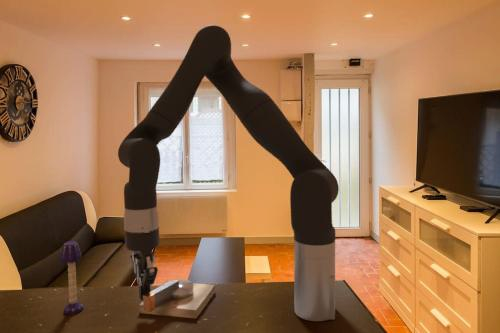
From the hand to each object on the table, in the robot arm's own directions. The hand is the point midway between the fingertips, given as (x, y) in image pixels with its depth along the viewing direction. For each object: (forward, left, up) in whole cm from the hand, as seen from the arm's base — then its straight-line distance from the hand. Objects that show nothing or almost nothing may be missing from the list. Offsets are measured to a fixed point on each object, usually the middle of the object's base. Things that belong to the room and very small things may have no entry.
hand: (145, 299), depth 88 cm
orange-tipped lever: (-4, -4, -1) cm, 6 cm away
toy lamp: (+18, +2, -4) cm, 18 cm away
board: (-5, -7, -4) cm, 10 cm away
